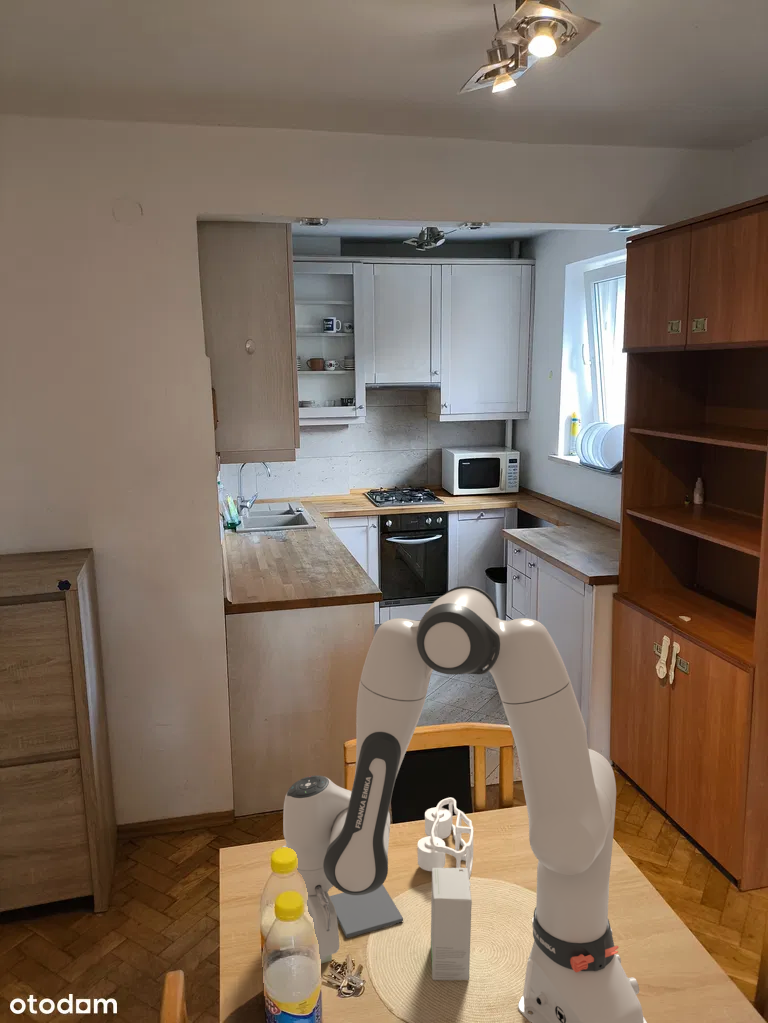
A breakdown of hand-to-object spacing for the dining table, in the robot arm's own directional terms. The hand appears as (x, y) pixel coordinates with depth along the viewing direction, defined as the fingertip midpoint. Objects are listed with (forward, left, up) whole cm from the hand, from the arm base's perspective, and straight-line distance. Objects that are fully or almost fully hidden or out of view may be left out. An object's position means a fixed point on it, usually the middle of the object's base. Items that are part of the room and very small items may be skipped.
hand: (313, 942), depth 133 cm
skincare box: (-11, -21, -2) cm, 24 cm away
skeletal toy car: (+17, -34, -3) cm, 38 cm away
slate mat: (+7, -12, -2) cm, 14 cm away
